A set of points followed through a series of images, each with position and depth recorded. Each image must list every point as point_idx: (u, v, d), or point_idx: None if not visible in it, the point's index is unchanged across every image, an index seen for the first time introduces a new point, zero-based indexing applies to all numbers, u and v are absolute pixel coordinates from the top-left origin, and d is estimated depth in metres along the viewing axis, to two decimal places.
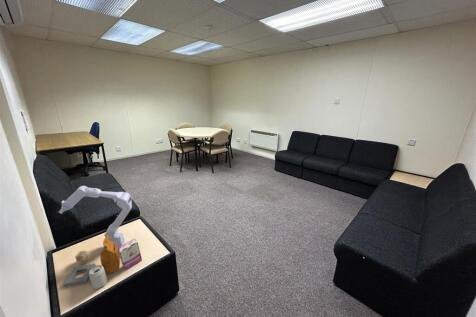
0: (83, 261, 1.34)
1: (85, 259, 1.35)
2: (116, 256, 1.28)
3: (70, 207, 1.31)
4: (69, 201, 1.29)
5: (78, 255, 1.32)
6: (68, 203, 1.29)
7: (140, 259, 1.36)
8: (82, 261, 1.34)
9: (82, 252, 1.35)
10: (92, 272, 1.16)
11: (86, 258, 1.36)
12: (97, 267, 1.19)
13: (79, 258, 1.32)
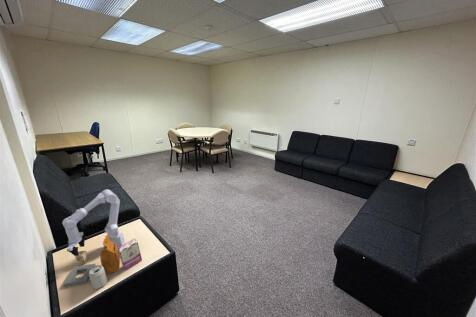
0: (83, 261, 1.34)
1: (85, 259, 1.35)
2: (116, 256, 1.28)
3: (77, 241, 1.28)
4: (72, 237, 1.26)
5: (78, 255, 1.32)
6: (70, 239, 1.26)
7: (140, 259, 1.36)
8: (82, 261, 1.34)
9: (82, 252, 1.35)
10: (92, 272, 1.16)
11: (86, 258, 1.36)
12: (97, 267, 1.19)
13: (79, 258, 1.32)
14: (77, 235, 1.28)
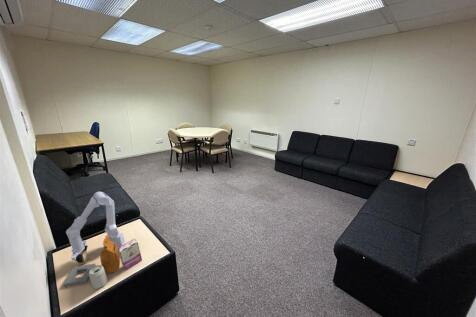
0: (83, 261, 1.34)
1: (85, 259, 1.35)
2: (116, 256, 1.28)
3: (80, 249, 1.31)
4: (76, 246, 1.28)
5: None
6: (74, 248, 1.29)
7: (140, 259, 1.36)
8: None
9: (82, 252, 1.35)
10: (92, 272, 1.16)
11: (86, 258, 1.36)
12: (97, 267, 1.19)
13: None
14: (80, 244, 1.30)
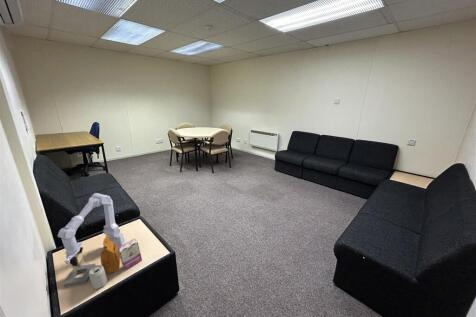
0: (78, 264, 1.23)
1: (80, 262, 1.24)
2: (116, 256, 1.28)
3: (75, 252, 1.20)
4: (72, 247, 1.19)
5: None
6: (68, 250, 1.18)
7: (140, 259, 1.36)
8: (77, 264, 1.23)
9: (77, 254, 1.24)
10: (92, 272, 1.16)
11: (81, 261, 1.26)
12: (97, 267, 1.19)
13: None
14: (75, 246, 1.20)
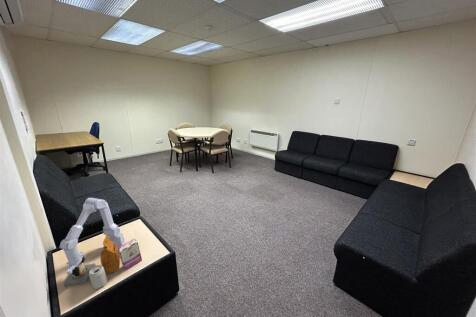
0: (80, 274, 1.23)
1: (82, 272, 1.24)
2: (116, 256, 1.28)
3: (77, 262, 1.20)
4: (75, 257, 1.18)
5: None
6: (70, 261, 1.18)
7: (140, 259, 1.36)
8: None
9: (79, 264, 1.24)
10: (92, 272, 1.16)
11: (83, 271, 1.25)
12: (97, 267, 1.19)
13: None
14: (77, 256, 1.20)
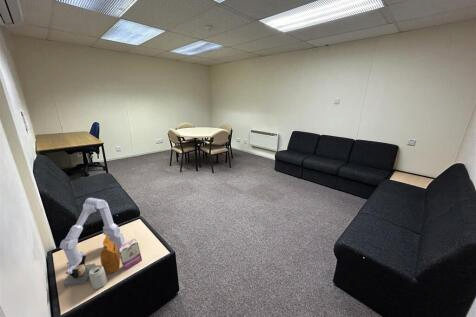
0: (81, 276, 1.24)
1: (83, 274, 1.25)
2: (116, 256, 1.28)
3: (77, 262, 1.20)
4: (75, 257, 1.18)
5: None
6: (70, 261, 1.18)
7: (140, 259, 1.36)
8: (80, 276, 1.24)
9: (79, 266, 1.25)
10: (92, 272, 1.16)
11: (84, 273, 1.26)
12: (97, 267, 1.19)
13: None
14: (77, 256, 1.20)
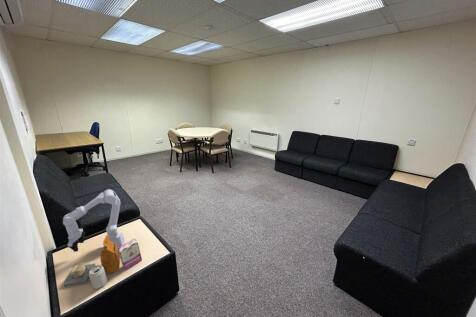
0: (81, 276, 1.24)
1: (83, 274, 1.25)
2: (116, 256, 1.28)
3: (77, 237, 1.31)
4: (71, 233, 1.29)
5: (75, 270, 1.22)
6: (70, 235, 1.29)
7: (140, 259, 1.36)
8: (80, 276, 1.24)
9: (79, 266, 1.25)
10: (92, 272, 1.16)
11: (84, 273, 1.26)
12: (97, 267, 1.19)
13: (76, 273, 1.22)
14: (77, 231, 1.31)
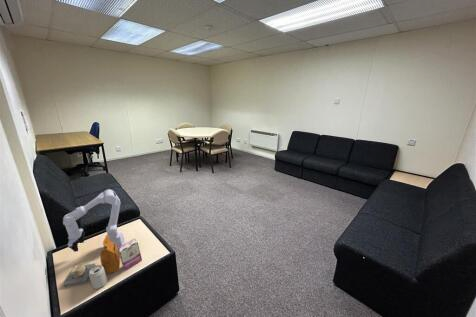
0: (81, 276, 1.24)
1: (83, 274, 1.25)
2: (116, 256, 1.28)
3: (77, 236, 1.31)
4: (71, 233, 1.29)
5: (75, 270, 1.22)
6: (70, 235, 1.29)
7: (140, 259, 1.36)
8: (80, 276, 1.24)
9: (79, 266, 1.25)
10: (92, 272, 1.16)
11: (84, 273, 1.26)
12: (97, 267, 1.19)
13: (76, 273, 1.22)
14: (77, 231, 1.31)
